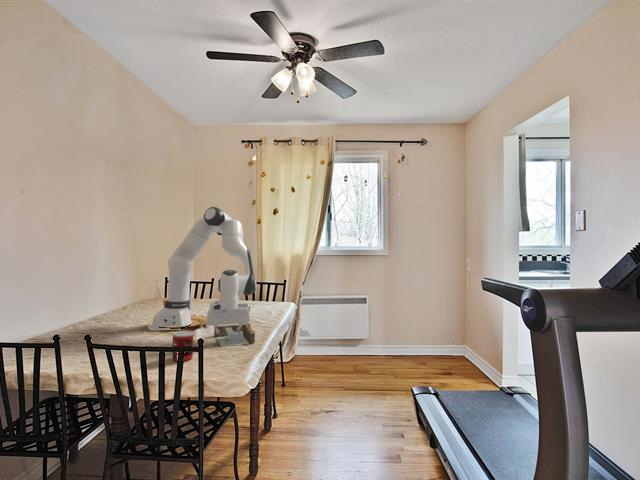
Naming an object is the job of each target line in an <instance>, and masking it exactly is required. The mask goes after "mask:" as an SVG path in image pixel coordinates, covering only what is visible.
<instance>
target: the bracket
mask: <svg viewBox="0 0 640 480" xmlns="http://www.w3.org/2000/svg"><path fill="white" fill-rule="evenodd" d="M243 336H244V334H243V332H242V331H237V332H234V331H233V330H232V328H231V327H229V328H225V336H224V337H225V339H226V341H227V343H228V345H230V344H239V343H243Z"/></svg>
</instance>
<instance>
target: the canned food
mask: <svg viewBox="0 0 640 480" xmlns="http://www.w3.org/2000/svg"><path fill="white" fill-rule="evenodd" d="M173 347H193V348H194V332H193V331H192V330H176V331H175V332H173V333H172V348H173ZM193 352H194V351H193ZM193 352H185V353H184V362H183V363H185V362H190V361H191V360H192V359H193V357H194V356H193V355H194V353H193ZM177 355H178V353H177V352H173V351H172V360H173V361H174V362H175V363H178V362H177Z"/></svg>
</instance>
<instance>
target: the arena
mask: <svg viewBox="0 0 640 480" xmlns="http://www.w3.org/2000/svg"><path fill="white" fill-rule="evenodd" d="M229 327H231V328H232V330H233V331H234V332H236V328H238V327H239V323H238V324H224V325H218V327H217V329H220V334H216V329H215V327H214V328H213V332H214V333H213V336H214V338H219V337H225V328H229ZM240 331H242V332H243V335H244V337H245V338H246V340H247V341H248V342H249V344H251V345H254V344H253V343H256V342H255V339H256V333H255V332H254V331H253V329H252V328H251V323H242V327H241V328H240Z"/></svg>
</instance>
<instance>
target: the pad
mask: <svg viewBox="0 0 640 480" xmlns="http://www.w3.org/2000/svg"><path fill="white" fill-rule="evenodd" d="M216 339H217V341H218V344H219V345H220V347H221V348H222V347H223V348H225V347H230V346H231V347H233V346H242V345H244V346H245V345H250V342H249V340H248V339H247V337H246V336H245V335H243V343H239V344H230V345H228V343H227V341H226V339H225V336H221V337H216Z"/></svg>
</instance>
